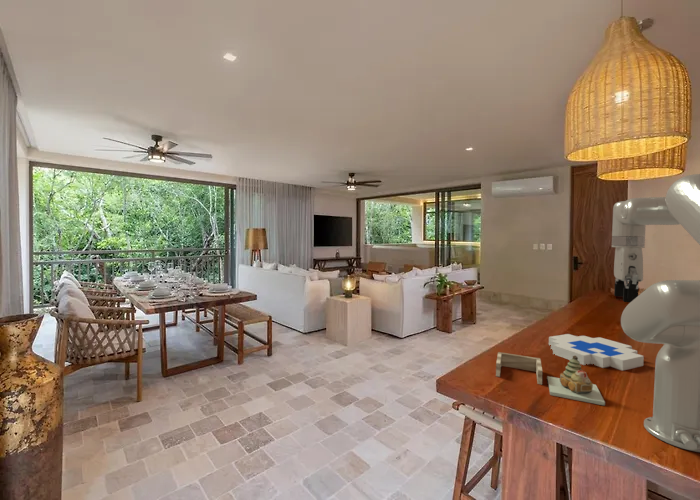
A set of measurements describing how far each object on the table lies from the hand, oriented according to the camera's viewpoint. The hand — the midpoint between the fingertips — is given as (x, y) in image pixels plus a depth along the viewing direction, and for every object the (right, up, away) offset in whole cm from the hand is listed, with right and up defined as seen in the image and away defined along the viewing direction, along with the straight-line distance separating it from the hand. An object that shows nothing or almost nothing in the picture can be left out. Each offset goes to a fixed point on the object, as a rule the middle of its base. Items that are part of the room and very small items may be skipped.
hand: (625, 299), depth 98 cm
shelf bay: (-25, -28, +14) cm, 40 cm away
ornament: (-15, -28, +1) cm, 31 cm away
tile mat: (-15, -28, +1) cm, 32 cm away
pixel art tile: (+14, -27, +32) cm, 44 cm away
